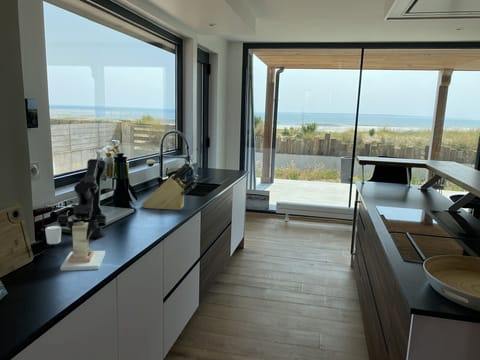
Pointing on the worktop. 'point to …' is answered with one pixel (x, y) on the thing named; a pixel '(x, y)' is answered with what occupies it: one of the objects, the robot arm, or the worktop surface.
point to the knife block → (172, 191)
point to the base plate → (83, 261)
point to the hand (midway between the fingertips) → (80, 239)
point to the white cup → (53, 234)
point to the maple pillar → (80, 239)
